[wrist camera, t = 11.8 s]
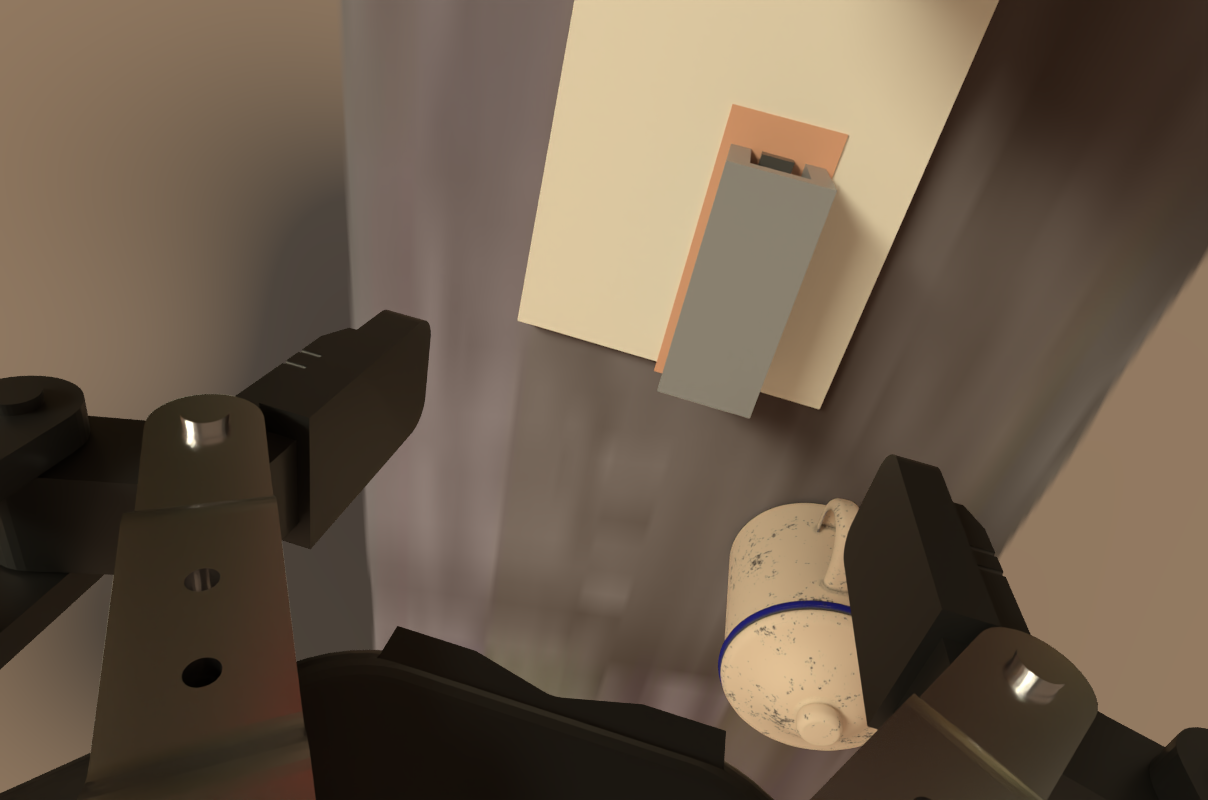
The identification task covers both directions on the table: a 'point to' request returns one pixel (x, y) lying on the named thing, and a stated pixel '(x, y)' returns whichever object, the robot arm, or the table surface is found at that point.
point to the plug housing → (745, 281)
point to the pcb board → (700, 148)
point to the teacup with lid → (794, 629)
